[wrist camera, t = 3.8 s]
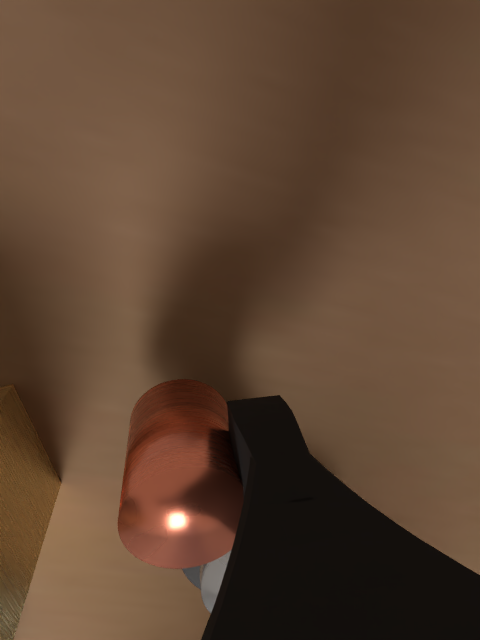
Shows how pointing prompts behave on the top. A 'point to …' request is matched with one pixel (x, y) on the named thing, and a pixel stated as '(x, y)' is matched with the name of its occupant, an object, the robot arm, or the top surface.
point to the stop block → (21, 506)
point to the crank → (181, 483)
